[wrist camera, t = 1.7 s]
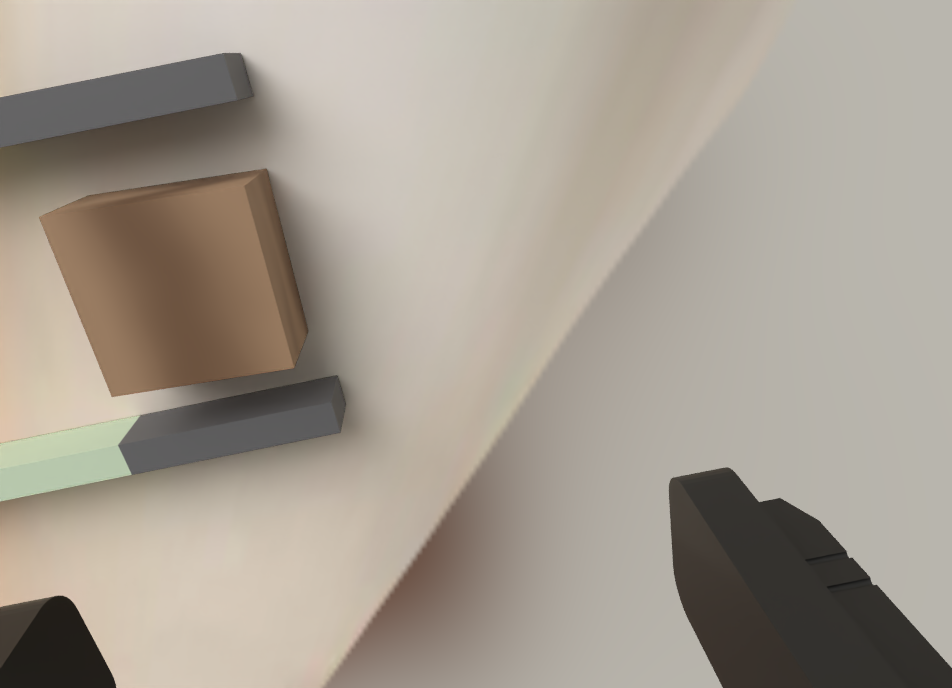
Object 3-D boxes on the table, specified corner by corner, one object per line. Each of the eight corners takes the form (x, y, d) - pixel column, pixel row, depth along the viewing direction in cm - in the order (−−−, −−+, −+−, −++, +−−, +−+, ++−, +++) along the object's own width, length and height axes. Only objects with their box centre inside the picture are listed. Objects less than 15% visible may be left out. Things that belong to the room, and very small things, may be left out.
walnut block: (267, 167, 26) (244, 186, 23) (308, 328, 29) (294, 368, 26) (90, 194, 26) (38, 216, 23) (149, 353, 29) (111, 396, 26)
